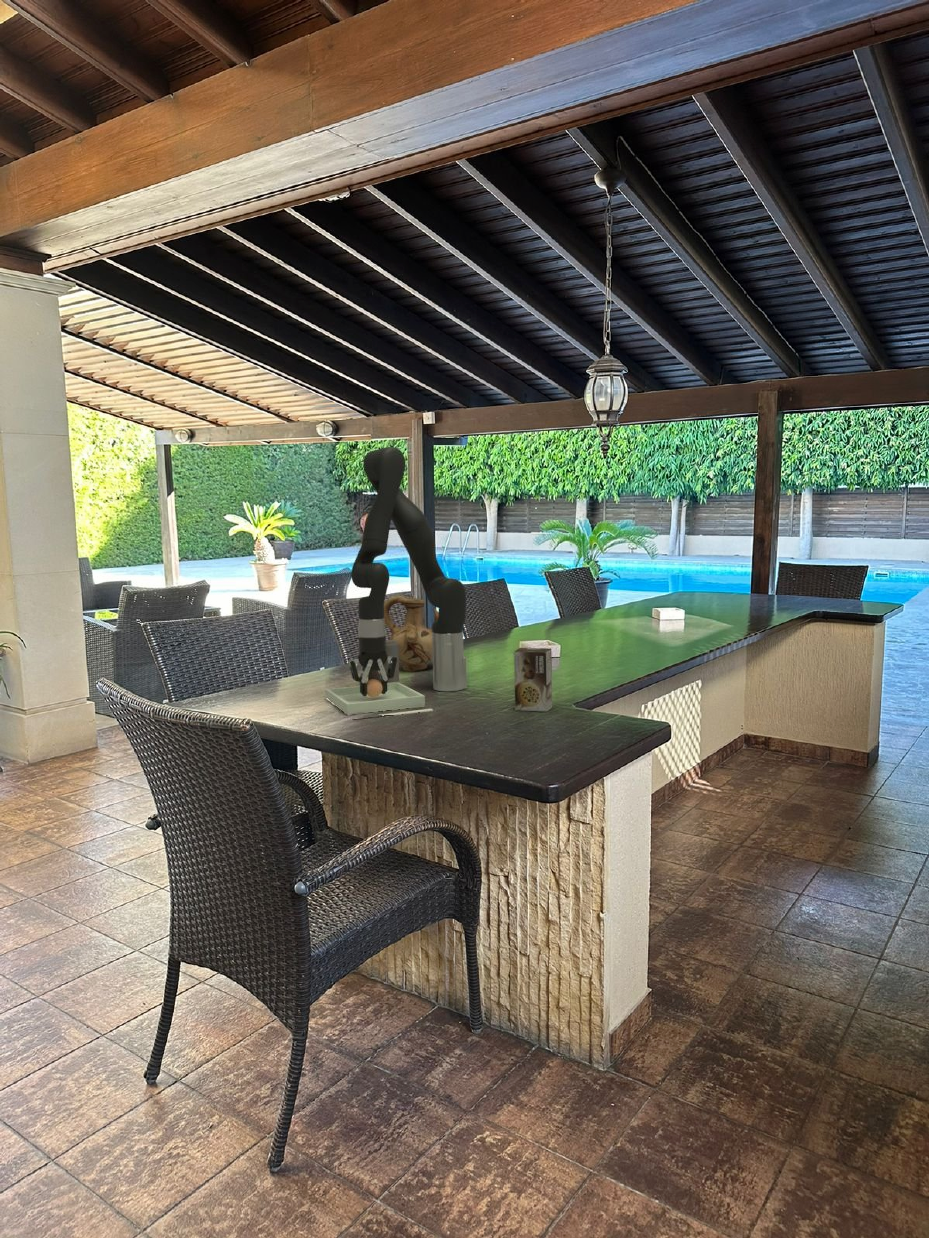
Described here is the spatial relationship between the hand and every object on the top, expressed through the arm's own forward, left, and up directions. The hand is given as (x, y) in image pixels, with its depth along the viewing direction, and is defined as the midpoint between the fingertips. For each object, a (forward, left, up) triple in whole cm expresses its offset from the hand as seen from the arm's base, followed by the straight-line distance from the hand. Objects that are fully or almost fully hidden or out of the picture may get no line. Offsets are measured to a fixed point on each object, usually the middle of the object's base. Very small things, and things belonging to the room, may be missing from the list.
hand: (373, 694), depth 246 cm
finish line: (0, +16, -2) cm, 16 cm away
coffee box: (-36, +27, -3) cm, 45 cm away
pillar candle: (-10, -21, -3) cm, 23 cm away
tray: (0, 0, -2) cm, 2 cm away
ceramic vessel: (-29, -43, -3) cm, 52 cm away
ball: (0, 0, +2) cm, 2 cm away
